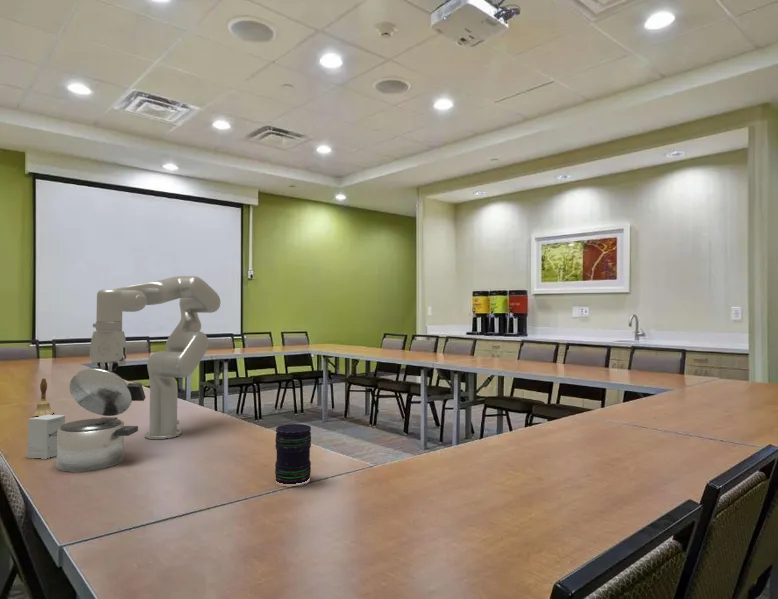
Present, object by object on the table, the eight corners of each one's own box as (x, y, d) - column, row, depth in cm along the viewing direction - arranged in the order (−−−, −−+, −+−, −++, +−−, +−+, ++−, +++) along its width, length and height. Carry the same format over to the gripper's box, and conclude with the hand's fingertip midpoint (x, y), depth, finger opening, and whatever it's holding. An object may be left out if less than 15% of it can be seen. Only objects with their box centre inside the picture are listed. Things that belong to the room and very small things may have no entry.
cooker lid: (79, 415, 170) (86, 406, 174) (148, 416, 170) (153, 407, 174) (61, 370, 161) (68, 361, 164) (133, 370, 161) (139, 362, 164)
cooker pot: (81, 453, 171) (82, 416, 171) (148, 453, 171) (148, 417, 171) (42, 471, 152) (43, 430, 152) (117, 472, 151) (118, 431, 152)
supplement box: (46, 459, 163) (47, 419, 163) (26, 458, 165) (27, 418, 165) (65, 453, 170) (66, 414, 171) (46, 452, 172) (46, 413, 172)
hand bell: (27, 416, 226) (27, 379, 226) (44, 412, 234) (45, 377, 234) (41, 417, 224) (42, 380, 224) (59, 413, 231) (59, 378, 232)
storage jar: (316, 478, 148) (317, 425, 148) (300, 489, 139) (300, 433, 139) (286, 474, 152) (286, 422, 152) (267, 484, 142) (268, 430, 142)
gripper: (79, 327, 167) (78, 384, 167) (126, 327, 167) (125, 385, 166) (93, 326, 174) (92, 381, 174) (137, 326, 174) (136, 381, 174)
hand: (108, 382), depth 170 cm, fingers closed
